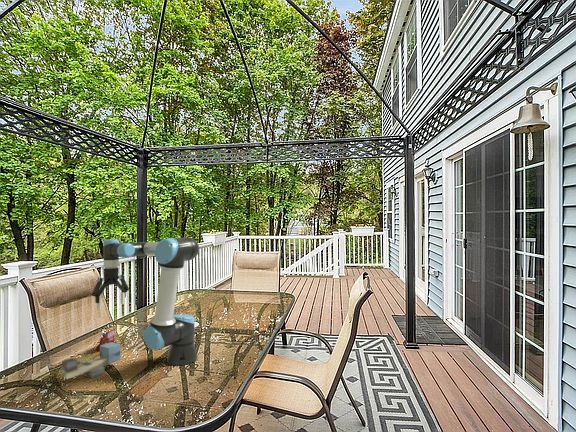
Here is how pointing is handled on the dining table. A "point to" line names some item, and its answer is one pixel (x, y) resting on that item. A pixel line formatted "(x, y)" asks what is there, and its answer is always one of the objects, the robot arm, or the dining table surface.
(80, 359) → the rock
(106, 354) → the grey block
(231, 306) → the dining table surface
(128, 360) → the dining table surface
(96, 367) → the beam
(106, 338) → the toy fire truck
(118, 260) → the robot arm
